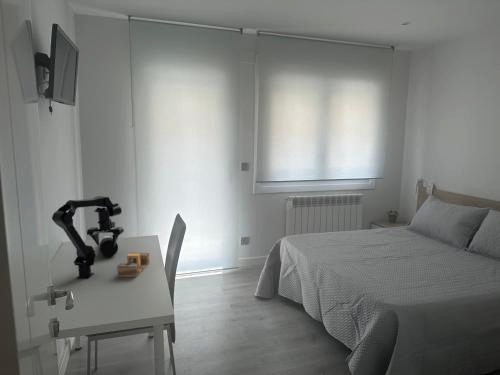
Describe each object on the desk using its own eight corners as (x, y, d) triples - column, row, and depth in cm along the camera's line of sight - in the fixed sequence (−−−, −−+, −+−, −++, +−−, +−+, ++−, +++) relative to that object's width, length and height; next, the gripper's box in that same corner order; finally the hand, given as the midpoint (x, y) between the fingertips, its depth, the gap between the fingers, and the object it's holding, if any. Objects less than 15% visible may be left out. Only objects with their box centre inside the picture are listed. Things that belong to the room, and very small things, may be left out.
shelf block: (136, 276, 183) (135, 264, 182) (118, 276, 183) (117, 264, 182) (149, 262, 203) (148, 251, 202) (132, 262, 203) (131, 251, 202)
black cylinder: (110, 248, 244) (115, 234, 245) (114, 258, 213) (120, 243, 214) (95, 244, 239) (101, 230, 241) (97, 253, 209) (104, 237, 210)
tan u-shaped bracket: (140, 265, 194) (139, 253, 193) (138, 267, 191) (137, 255, 190) (130, 265, 194) (129, 253, 193) (127, 267, 192) (127, 255, 190)
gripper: (126, 215, 202) (128, 241, 204) (94, 215, 203) (97, 241, 205) (118, 219, 191) (120, 247, 193) (84, 220, 192) (87, 247, 194)
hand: (106, 245), depth 197 cm, fingers open, 9 cm apart
